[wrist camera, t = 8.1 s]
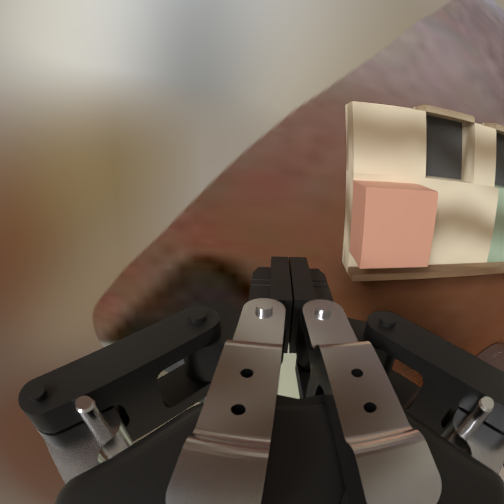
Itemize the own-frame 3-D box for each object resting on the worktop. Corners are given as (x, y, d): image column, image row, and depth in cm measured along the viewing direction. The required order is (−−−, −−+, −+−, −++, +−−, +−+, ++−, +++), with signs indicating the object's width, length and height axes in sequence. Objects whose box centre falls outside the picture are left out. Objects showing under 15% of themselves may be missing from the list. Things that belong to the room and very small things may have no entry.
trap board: (511, 257, 24) (530, 270, 20) (342, 261, 26) (351, 281, 23) (525, 137, 19) (547, 141, 15) (344, 98, 21) (357, 90, 17)
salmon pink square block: (410, 250, 23) (427, 266, 20) (349, 251, 23) (359, 268, 20) (418, 183, 21) (438, 191, 17) (353, 180, 21) (366, 187, 18)
